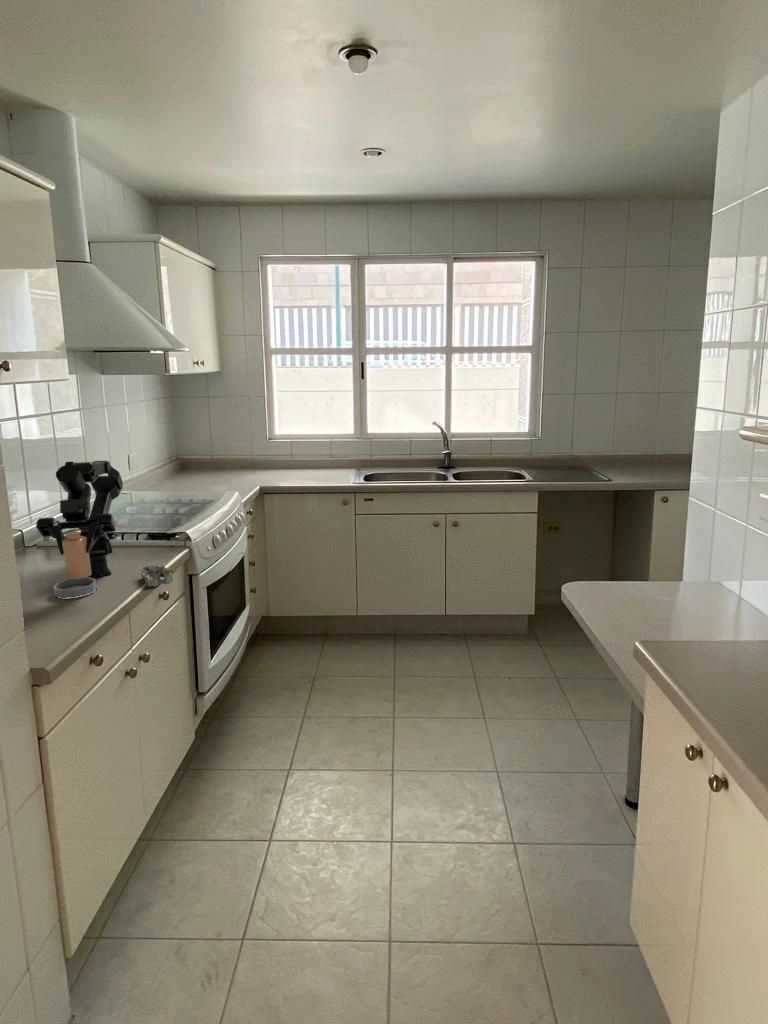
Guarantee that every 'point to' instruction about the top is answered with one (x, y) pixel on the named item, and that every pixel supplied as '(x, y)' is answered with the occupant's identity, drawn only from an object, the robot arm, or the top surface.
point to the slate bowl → (74, 587)
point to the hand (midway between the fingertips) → (74, 553)
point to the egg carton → (156, 575)
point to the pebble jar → (76, 555)
